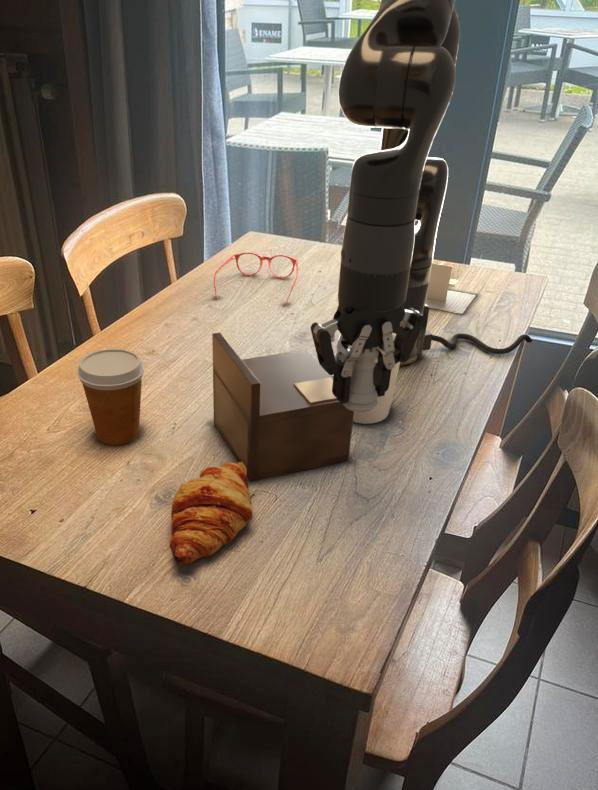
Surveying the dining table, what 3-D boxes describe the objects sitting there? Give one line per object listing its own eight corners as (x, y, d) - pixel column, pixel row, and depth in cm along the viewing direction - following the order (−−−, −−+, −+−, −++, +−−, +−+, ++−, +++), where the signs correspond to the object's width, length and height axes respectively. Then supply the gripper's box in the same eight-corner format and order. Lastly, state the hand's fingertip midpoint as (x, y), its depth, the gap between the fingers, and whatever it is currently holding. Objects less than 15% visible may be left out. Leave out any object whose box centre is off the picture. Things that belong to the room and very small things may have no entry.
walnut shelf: (303, 407, 115) (308, 319, 107) (348, 461, 103) (359, 366, 94) (213, 423, 111) (212, 333, 102) (249, 481, 99) (251, 384, 90)
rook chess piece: (376, 415, 87) (384, 355, 82) (339, 411, 88) (345, 351, 83) (377, 397, 90) (385, 338, 86) (342, 393, 91) (348, 334, 86)
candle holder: (398, 401, 117) (408, 332, 110) (388, 431, 110) (398, 359, 102) (338, 391, 120) (345, 323, 113) (325, 420, 112) (331, 349, 105)
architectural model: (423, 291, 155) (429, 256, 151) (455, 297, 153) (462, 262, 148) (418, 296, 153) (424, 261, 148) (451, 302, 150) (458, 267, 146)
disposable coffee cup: (79, 425, 111) (68, 353, 104) (139, 412, 114) (132, 342, 107) (95, 457, 104) (85, 383, 97) (158, 442, 107) (152, 370, 100)
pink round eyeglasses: (303, 278, 161) (305, 256, 158) (291, 306, 149) (293, 282, 146) (228, 272, 164) (228, 250, 161) (210, 298, 152) (209, 275, 149)
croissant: (220, 492, 103) (194, 445, 100) (282, 476, 98) (257, 426, 95) (161, 589, 86) (128, 537, 83) (232, 576, 81) (199, 520, 78)
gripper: (331, 279, 73) (319, 422, 84) (452, 262, 77) (427, 401, 87) (301, 255, 79) (294, 392, 89) (415, 240, 83) (396, 373, 93)
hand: (359, 396), depth 88 cm, fingers closed on rook chess piece, 4 cm apart
